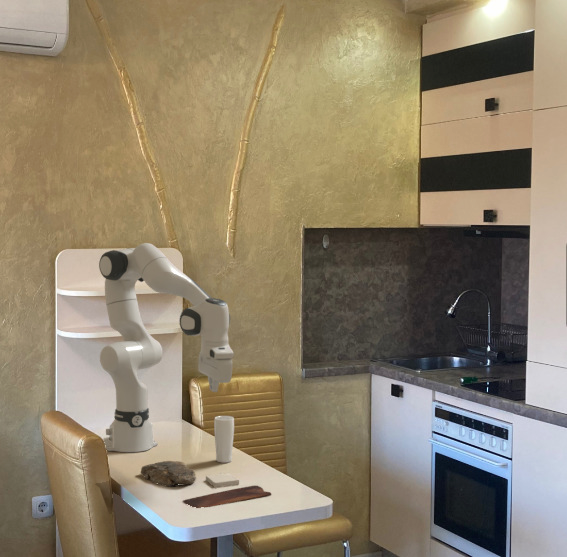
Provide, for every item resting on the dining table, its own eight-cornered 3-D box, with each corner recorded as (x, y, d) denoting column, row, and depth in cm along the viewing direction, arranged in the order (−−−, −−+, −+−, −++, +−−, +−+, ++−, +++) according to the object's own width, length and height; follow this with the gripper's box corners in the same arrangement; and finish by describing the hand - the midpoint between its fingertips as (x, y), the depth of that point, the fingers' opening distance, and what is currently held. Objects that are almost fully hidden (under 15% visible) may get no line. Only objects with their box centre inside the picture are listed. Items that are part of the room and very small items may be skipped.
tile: (205, 475, 276) (215, 482, 269) (229, 472, 280) (239, 479, 273) (205, 481, 276) (215, 489, 269) (229, 478, 280) (239, 485, 273)
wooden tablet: (194, 506, 248) (179, 493, 257) (193, 514, 249) (179, 500, 257) (274, 493, 262) (257, 480, 271) (273, 499, 263) (257, 487, 271)
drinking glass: (212, 459, 301) (212, 416, 300) (231, 457, 303) (231, 415, 302) (216, 464, 294) (216, 420, 293) (236, 463, 296) (236, 419, 295)
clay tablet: (205, 485, 273) (178, 468, 289) (205, 470, 272) (178, 454, 289) (164, 493, 265) (138, 475, 282) (164, 478, 265) (138, 460, 282)
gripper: (194, 344, 290) (193, 385, 291) (217, 354, 272) (216, 398, 273) (211, 343, 293) (210, 384, 294) (236, 353, 275) (234, 397, 276)
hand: (213, 391), depth 283 cm, fingers closed
